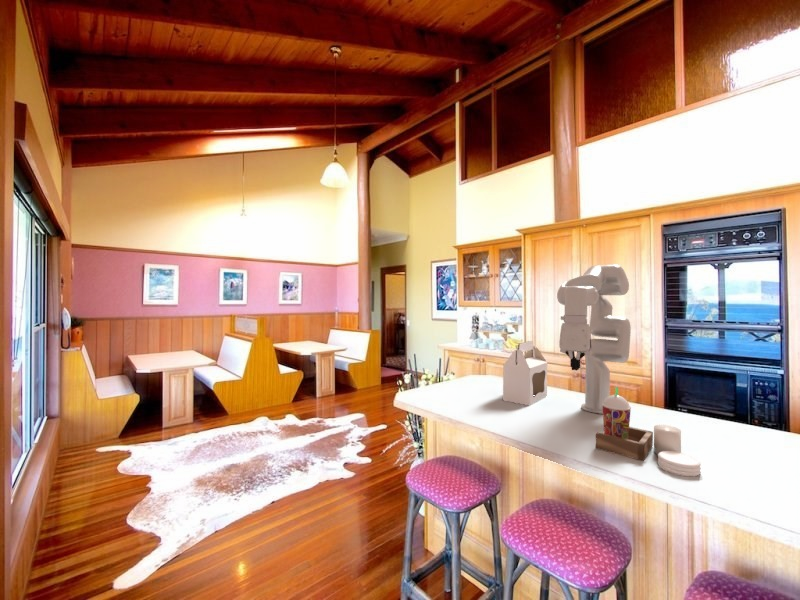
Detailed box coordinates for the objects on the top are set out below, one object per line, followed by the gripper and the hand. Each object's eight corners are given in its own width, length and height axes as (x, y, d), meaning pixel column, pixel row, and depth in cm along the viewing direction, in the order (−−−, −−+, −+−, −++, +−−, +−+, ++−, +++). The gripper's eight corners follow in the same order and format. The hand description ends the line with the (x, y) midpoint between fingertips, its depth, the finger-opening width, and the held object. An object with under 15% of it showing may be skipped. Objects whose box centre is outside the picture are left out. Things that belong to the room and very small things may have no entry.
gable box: (521, 391, 194) (522, 338, 193) (547, 396, 185) (547, 341, 184) (502, 400, 177) (503, 342, 177) (529, 406, 168) (529, 345, 168)
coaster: (708, 479, 102) (709, 466, 102) (669, 476, 104) (669, 463, 104) (687, 462, 112) (687, 451, 112) (651, 460, 114) (651, 449, 114)
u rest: (608, 435, 133) (608, 422, 133) (652, 446, 124) (652, 431, 124) (595, 448, 122) (595, 433, 122) (643, 460, 113) (643, 444, 113)
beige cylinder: (652, 447, 123) (652, 423, 122) (677, 450, 120) (677, 426, 119) (656, 456, 116) (656, 431, 116) (683, 460, 113) (683, 434, 113)
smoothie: (628, 453, 118) (629, 391, 118) (599, 446, 123) (600, 387, 123) (631, 445, 125) (632, 386, 124) (603, 439, 130) (604, 382, 130)
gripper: (551, 319, 137) (551, 368, 137) (595, 321, 127) (594, 374, 127) (558, 318, 142) (558, 365, 143) (600, 320, 132) (600, 370, 133)
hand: (575, 369), depth 135 cm, fingers closed
